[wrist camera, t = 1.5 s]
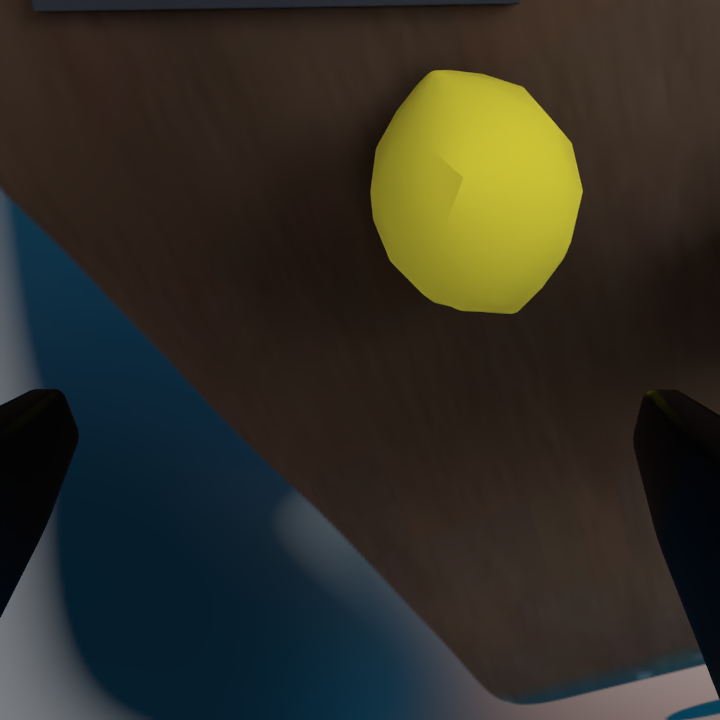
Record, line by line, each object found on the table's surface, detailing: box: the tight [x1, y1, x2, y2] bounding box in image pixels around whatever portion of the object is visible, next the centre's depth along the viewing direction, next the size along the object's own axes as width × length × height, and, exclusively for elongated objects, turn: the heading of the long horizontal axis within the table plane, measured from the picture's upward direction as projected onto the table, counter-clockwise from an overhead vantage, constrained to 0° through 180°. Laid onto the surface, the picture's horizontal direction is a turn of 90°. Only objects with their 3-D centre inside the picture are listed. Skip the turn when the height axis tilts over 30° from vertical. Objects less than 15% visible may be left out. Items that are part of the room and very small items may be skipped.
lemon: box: [370, 70, 583, 314], centre depth 16 cm, size 7×5×5 cm
